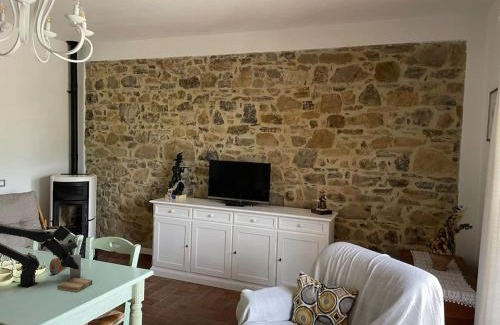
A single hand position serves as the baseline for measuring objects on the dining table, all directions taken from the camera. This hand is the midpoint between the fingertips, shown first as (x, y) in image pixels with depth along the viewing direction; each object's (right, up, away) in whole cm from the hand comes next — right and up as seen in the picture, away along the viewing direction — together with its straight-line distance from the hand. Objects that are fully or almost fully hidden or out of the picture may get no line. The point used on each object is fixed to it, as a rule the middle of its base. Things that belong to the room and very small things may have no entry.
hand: (78, 266), depth 205 cm
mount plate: (+3, -7, -11) cm, 13 cm away
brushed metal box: (-2, -7, 0) cm, 7 cm away
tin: (-16, -6, +10) cm, 19 cm away
